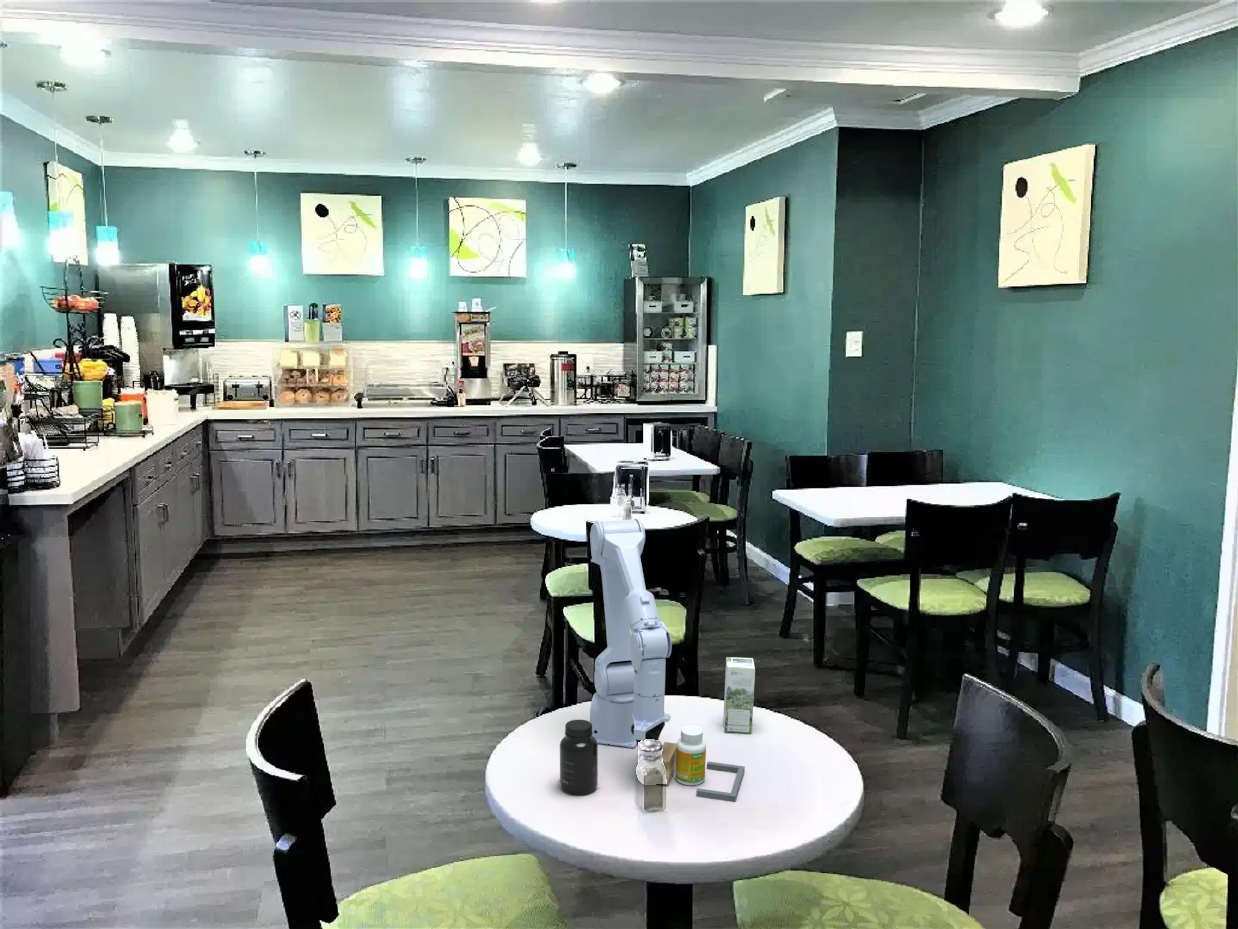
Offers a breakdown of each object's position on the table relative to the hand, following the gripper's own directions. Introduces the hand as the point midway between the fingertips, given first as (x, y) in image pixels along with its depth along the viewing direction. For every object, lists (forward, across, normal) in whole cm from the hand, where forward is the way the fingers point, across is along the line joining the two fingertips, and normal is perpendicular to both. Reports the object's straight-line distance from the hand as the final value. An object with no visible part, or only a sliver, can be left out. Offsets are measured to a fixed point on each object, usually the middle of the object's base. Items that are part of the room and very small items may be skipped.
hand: (647, 760), depth 187 cm
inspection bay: (+2, 0, -13) cm, 14 cm away
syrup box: (+3, +25, -13) cm, 29 cm away
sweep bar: (+2, 0, -4) cm, 4 cm away
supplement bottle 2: (+2, 0, -8) cm, 9 cm away
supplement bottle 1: (+3, -9, +11) cm, 14 cm away
